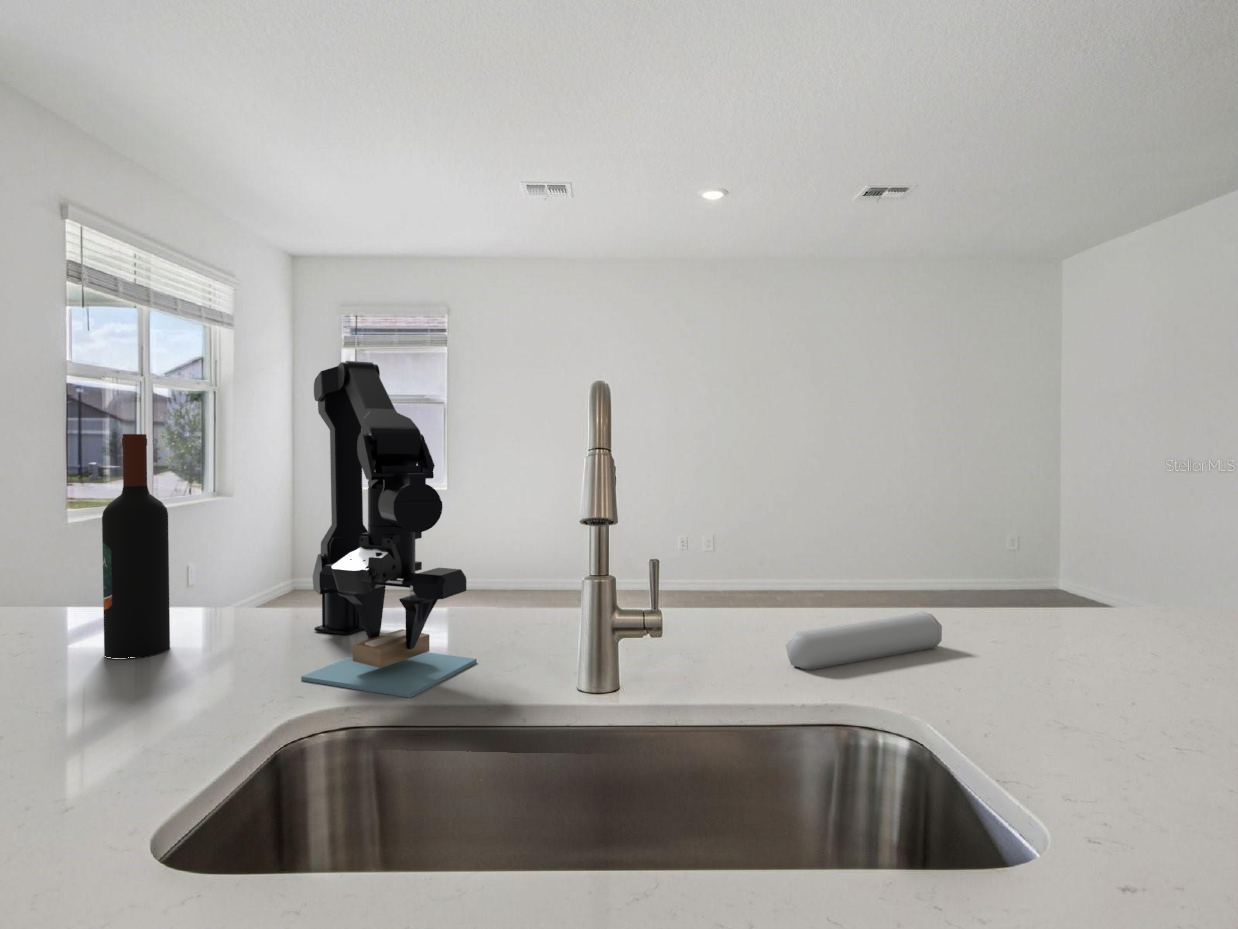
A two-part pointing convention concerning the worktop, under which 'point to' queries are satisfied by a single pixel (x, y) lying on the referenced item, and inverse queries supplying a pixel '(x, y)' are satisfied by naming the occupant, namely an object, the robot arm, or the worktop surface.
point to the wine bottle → (135, 563)
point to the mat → (392, 674)
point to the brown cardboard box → (388, 649)
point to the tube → (864, 640)
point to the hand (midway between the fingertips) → (392, 646)
